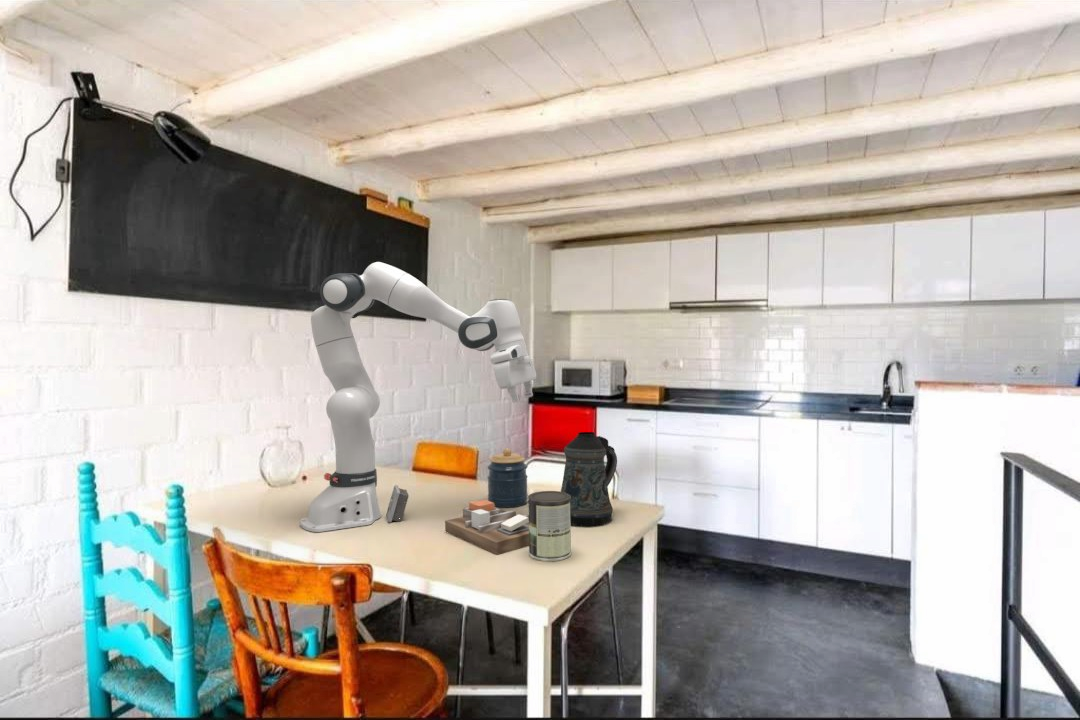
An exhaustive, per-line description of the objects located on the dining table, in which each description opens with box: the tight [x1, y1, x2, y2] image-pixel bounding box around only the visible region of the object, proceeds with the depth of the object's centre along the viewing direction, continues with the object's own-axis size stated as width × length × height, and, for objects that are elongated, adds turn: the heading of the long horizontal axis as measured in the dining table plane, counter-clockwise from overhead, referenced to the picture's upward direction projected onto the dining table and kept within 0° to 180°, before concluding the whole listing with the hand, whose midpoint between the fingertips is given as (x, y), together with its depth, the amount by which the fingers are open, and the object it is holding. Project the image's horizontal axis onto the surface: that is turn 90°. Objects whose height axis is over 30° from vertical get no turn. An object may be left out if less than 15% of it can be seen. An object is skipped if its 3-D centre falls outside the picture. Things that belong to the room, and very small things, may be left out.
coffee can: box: [527, 490, 572, 562], centre depth 140 cm, size 10×10×14 cm
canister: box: [486, 447, 529, 508], centre depth 188 cm, size 13×13×18 cm
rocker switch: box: [501, 513, 529, 531], centre depth 149 cm, size 6×4×1 cm, turn 130°
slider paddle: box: [471, 509, 490, 529], centre depth 151 cm, size 3×4×4 cm
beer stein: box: [560, 431, 618, 528], centre depth 170 cm, size 16×19×25 cm
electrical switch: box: [386, 484, 409, 524], centre depth 172 cm, size 9×5×9 cm, turn 18°
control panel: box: [444, 506, 529, 556], centre depth 155 cm, size 18×24×6 cm
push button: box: [468, 499, 495, 511], centre depth 161 cm, size 5×5×2 cm
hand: (523, 399), depth 168 cm, fingers open, 8 cm apart
